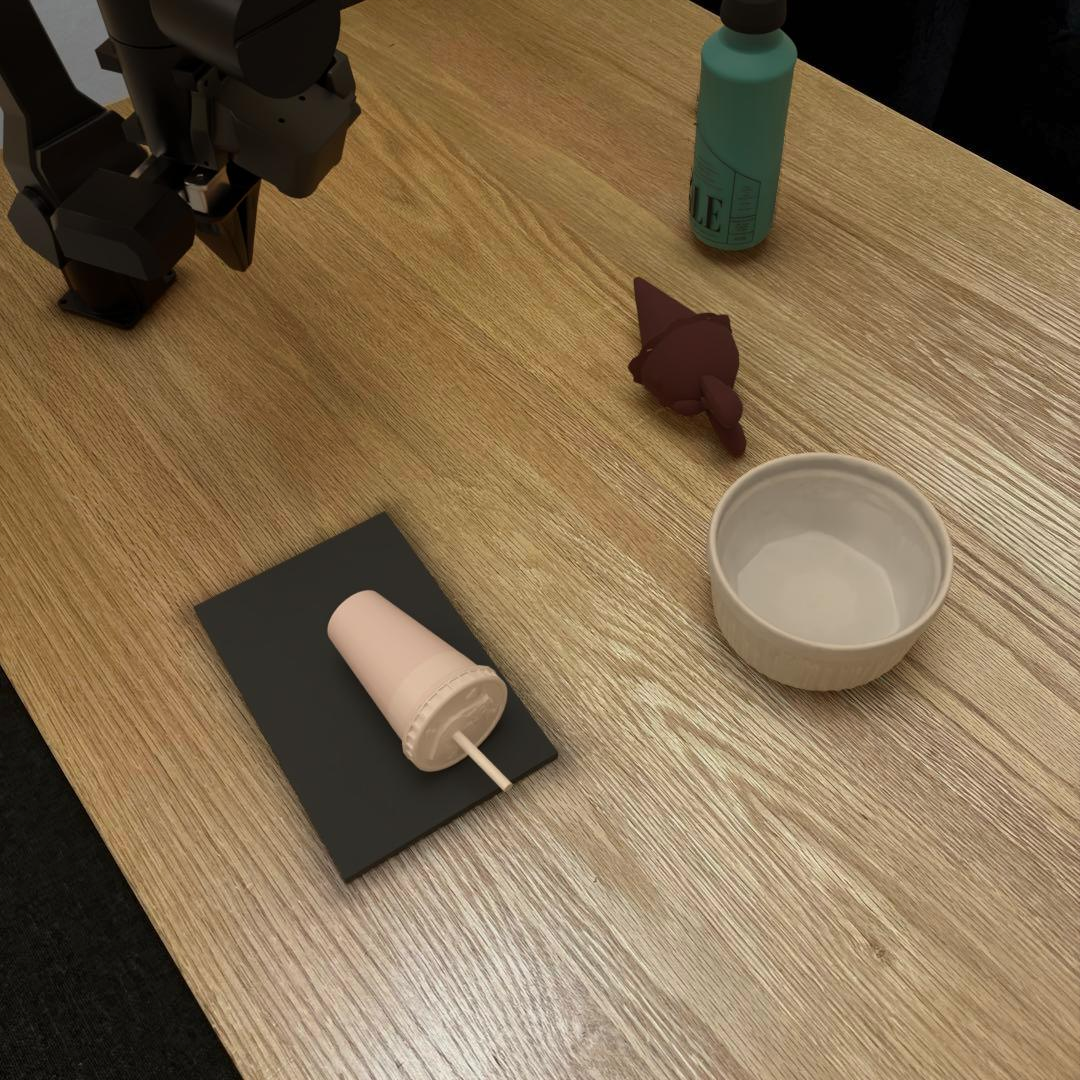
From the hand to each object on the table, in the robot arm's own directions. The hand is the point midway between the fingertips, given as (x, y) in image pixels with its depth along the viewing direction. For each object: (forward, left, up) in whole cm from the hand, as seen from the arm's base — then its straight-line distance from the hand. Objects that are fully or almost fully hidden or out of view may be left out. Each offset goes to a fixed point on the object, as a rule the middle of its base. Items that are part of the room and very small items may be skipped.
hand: (241, 267), depth 70 cm
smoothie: (+13, -14, -10) cm, 22 cm away
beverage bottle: (+22, +28, -13) cm, 38 cm away
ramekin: (+37, -2, -13) cm, 39 cm away
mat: (+15, -16, -13) cm, 25 cm away
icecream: (+24, +12, -13) cm, 30 cm away
